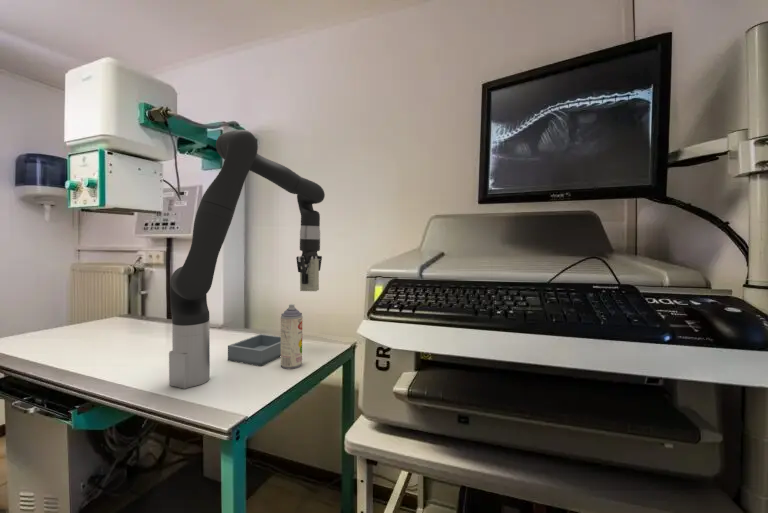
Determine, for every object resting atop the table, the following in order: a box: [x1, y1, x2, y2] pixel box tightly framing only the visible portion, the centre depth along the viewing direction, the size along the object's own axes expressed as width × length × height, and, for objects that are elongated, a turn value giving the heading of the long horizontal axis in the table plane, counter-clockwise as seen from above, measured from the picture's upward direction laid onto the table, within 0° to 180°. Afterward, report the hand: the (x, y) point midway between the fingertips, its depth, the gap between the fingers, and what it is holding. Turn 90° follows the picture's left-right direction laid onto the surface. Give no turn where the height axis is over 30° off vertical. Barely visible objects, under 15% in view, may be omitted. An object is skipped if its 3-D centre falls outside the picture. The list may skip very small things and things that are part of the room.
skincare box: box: [299, 259, 320, 292], centre depth 127 cm, size 6×4×12 cm
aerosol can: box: [280, 303, 303, 370], centre depth 110 cm, size 7×7×20 cm
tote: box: [227, 333, 281, 367], centre depth 119 cm, size 16×14×5 cm
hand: (309, 283), depth 127 cm, fingers closed on skincare box, 5 cm apart
